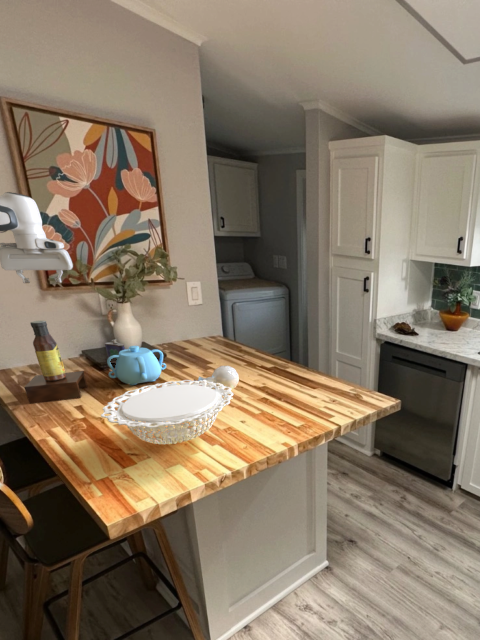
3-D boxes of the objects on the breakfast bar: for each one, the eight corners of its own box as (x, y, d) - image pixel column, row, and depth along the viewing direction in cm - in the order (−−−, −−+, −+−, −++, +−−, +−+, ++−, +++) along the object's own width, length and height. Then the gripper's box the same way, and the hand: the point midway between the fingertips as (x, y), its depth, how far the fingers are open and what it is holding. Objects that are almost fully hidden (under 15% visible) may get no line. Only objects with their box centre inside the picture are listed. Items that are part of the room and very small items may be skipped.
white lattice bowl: (206, 408, 136) (200, 372, 132) (260, 440, 118) (256, 399, 113) (94, 442, 113) (83, 400, 109) (140, 488, 95) (128, 440, 90)
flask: (107, 363, 175) (102, 339, 171) (113, 361, 178) (108, 337, 174) (125, 366, 173) (119, 341, 169) (130, 364, 176) (125, 339, 172)
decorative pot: (105, 385, 152) (96, 350, 147) (137, 371, 167) (130, 339, 162) (143, 389, 150) (136, 354, 145) (173, 375, 165) (167, 342, 159)
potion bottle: (243, 391, 155) (203, 404, 147) (231, 371, 158) (191, 384, 149) (244, 376, 148) (203, 390, 140) (232, 357, 151) (191, 369, 142)
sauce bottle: (70, 377, 142) (54, 321, 134) (49, 383, 137) (31, 324, 129) (61, 374, 145) (45, 318, 137) (40, 379, 140) (22, 321, 132)
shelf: (29, 403, 135) (24, 387, 133) (40, 391, 145) (35, 375, 143) (80, 398, 141) (76, 381, 138) (87, 386, 151) (83, 371, 149)
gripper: (-10, 243, 139) (3, 284, 144) (64, 244, 147) (74, 283, 152) (-3, 242, 144) (10, 282, 149) (68, 243, 152) (77, 281, 157)
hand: (43, 282), depth 150 cm, fingers open, 8 cm apart
